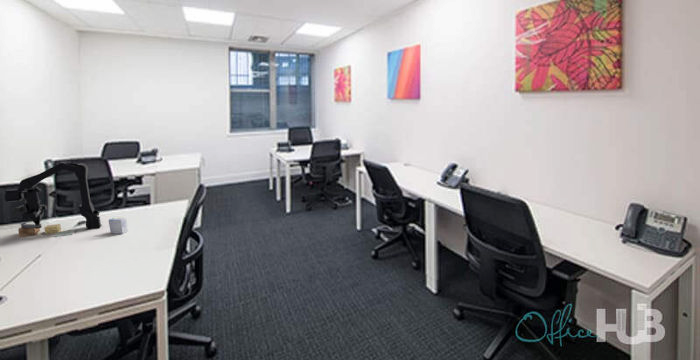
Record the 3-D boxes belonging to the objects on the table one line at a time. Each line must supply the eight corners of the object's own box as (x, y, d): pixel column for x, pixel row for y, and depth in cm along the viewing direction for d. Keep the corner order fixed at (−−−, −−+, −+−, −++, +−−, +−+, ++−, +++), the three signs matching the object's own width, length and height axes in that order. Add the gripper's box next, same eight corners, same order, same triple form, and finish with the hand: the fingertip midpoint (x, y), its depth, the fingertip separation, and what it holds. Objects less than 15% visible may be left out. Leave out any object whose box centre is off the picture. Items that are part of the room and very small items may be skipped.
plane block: (40, 231, 200) (38, 223, 199) (35, 234, 194) (34, 227, 193) (24, 232, 197) (23, 225, 196) (19, 236, 191) (18, 229, 190)
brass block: (61, 230, 202) (60, 223, 201) (58, 232, 198) (57, 226, 197) (48, 231, 200) (47, 225, 199) (45, 234, 196) (44, 227, 195)
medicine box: (128, 231, 201) (126, 217, 199) (122, 234, 196) (120, 220, 195) (116, 230, 202) (114, 217, 200) (110, 233, 197) (108, 219, 195)
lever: (43, 227, 193) (42, 223, 192) (38, 228, 190) (37, 224, 190) (24, 226, 194) (23, 222, 193) (19, 228, 191) (19, 224, 191)
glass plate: (75, 230, 201) (75, 230, 201) (71, 234, 195) (71, 233, 195) (58, 232, 197) (58, 232, 197) (54, 236, 191) (54, 236, 191)
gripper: (20, 197, 195) (26, 222, 198) (5, 206, 179) (11, 233, 182) (45, 195, 200) (50, 219, 203) (32, 203, 183) (38, 230, 187)
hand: (37, 225), depth 194 cm, fingers closed
